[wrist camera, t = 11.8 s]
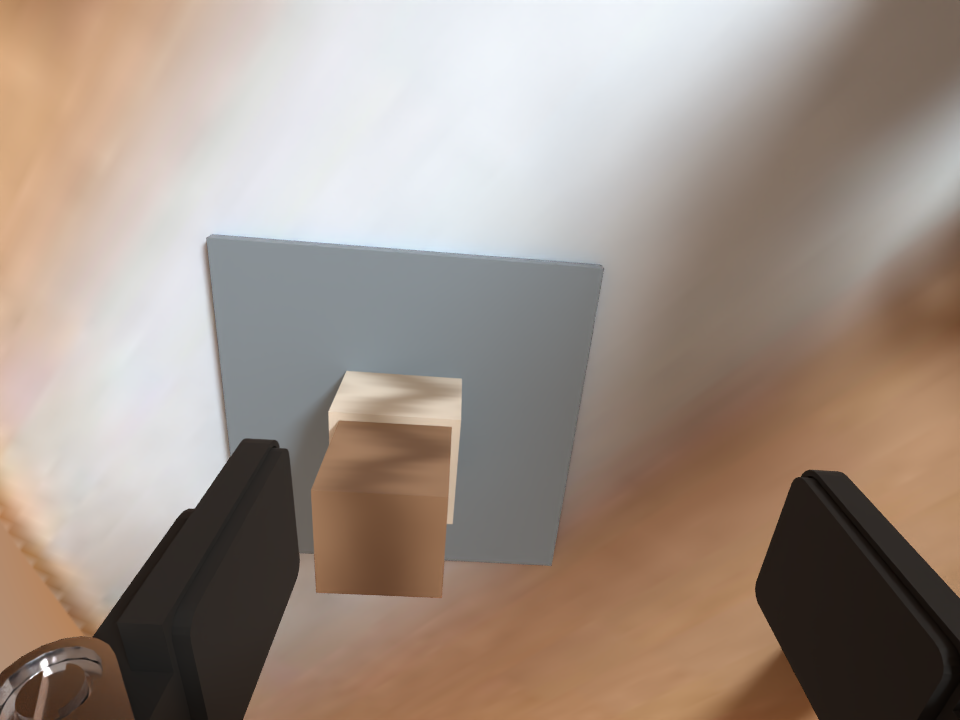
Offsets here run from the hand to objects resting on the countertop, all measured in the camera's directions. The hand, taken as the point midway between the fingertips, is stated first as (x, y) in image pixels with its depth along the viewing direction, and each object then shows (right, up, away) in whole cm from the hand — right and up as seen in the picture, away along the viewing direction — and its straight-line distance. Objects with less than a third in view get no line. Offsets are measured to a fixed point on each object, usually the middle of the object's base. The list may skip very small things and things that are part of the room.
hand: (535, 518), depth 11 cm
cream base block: (-6, -1, +26) cm, 27 cm away
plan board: (-6, -1, +27) cm, 27 cm away
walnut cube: (-6, -3, +21) cm, 22 cm away
